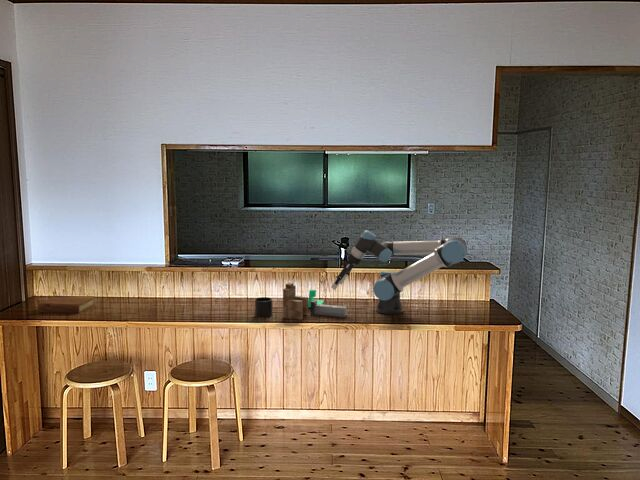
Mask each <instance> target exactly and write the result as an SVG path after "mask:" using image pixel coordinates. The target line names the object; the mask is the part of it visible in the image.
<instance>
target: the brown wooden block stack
mask: <svg viewBox="0 0 640 480" xmlns="http://www.w3.org/2000/svg"><path fill="white" fill-rule="evenodd" d="M296 287H297V286H296V285H294V283H293V282H288V283H286V284H285V288H283V289H282V292H283V293H282V302H283V303H282V307H283V308H282V309H283V310H282V312H283V313H282V316H283V319H289V320H290V319H292V320H301V321H302V320H303V319H304V316H308V315H309V307H308V301H309V296H303V295H302V296H300V295H296V291H297V288H296Z"/></svg>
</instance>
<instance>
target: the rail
mask: <svg viewBox="0 0 640 480" xmlns="http://www.w3.org/2000/svg"><path fill="white" fill-rule="evenodd" d="M317 300H318V299H314V300H312V301H311V307H310V314H311V315H319V316H327V317H329V316H330V317H337V318H346V317H347V315H348V311H347V310H348V306H344V305H333V304H332V305H331V304H324V303H323V304H317Z"/></svg>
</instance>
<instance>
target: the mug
mask: <svg viewBox="0 0 640 480" xmlns="http://www.w3.org/2000/svg"><path fill="white" fill-rule="evenodd" d="M254 310H255V311H254V313H255V314H254V315H255V317H258V318H269V317H272V316H273V299H272V298H271V297H257V298H255V299H254Z"/></svg>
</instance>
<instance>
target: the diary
mask: <svg viewBox="0 0 640 480" xmlns="http://www.w3.org/2000/svg"><path fill="white" fill-rule="evenodd" d="M94 299H95V296H89V295H88V296H87V295H86V296H84V295H83V296H82V295H55V296H53V297H51V298H49V299H46V300H44V301H42V302H39V303H38V306H37V308H38V313H39V312H43V313H44V314H46V313H47V314H50V313H51V314H81V313H83V312H84V311H86V310H88V309H90V308H92V307H94V306H95V305H96V304H95V303H94Z"/></svg>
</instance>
